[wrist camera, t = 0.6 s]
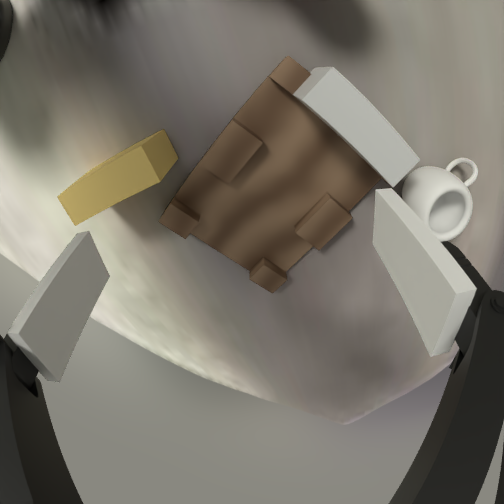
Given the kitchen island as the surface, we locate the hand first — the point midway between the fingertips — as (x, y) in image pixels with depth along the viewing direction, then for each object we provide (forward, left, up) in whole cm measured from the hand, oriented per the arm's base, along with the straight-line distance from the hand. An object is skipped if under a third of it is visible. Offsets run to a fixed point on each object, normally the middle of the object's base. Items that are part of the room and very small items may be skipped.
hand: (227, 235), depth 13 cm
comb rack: (+7, -2, -23) cm, 24 cm away
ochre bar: (-9, -11, -23) cm, 27 cm away
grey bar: (+7, +9, -22) cm, 25 cm away
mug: (+22, +12, -23) cm, 34 cm away
